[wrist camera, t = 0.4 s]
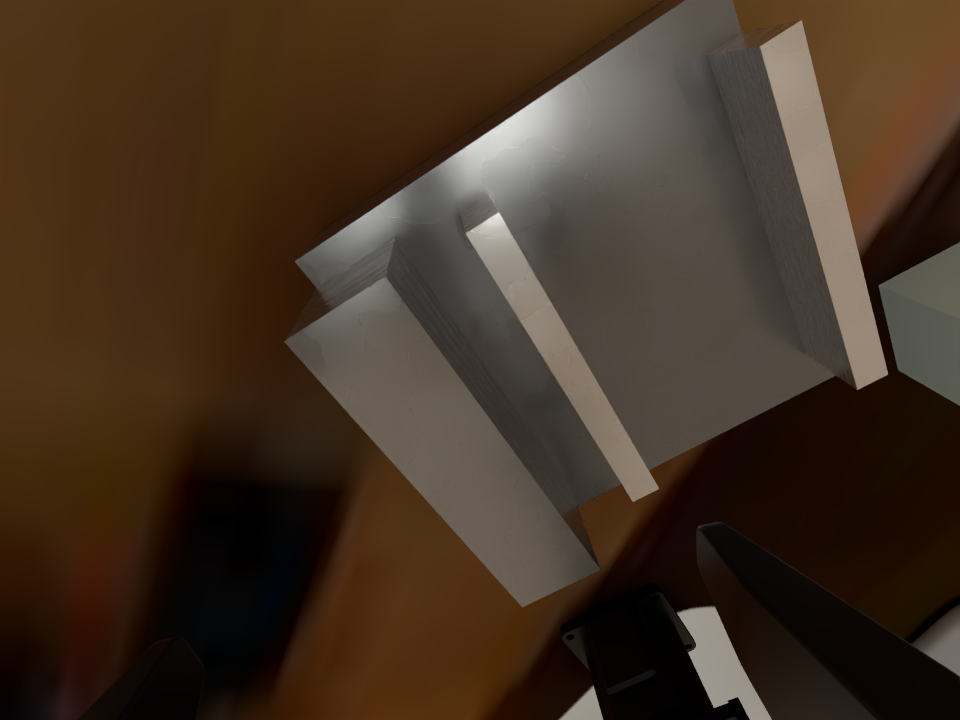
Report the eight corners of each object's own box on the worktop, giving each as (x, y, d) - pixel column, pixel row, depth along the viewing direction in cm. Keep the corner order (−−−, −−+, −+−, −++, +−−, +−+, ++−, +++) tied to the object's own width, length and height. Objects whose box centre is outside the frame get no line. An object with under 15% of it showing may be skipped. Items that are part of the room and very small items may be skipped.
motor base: (777, 329, 23) (936, 433, 16) (505, 474, 25) (535, 622, 18) (661, 0, 17) (832, -73, 10) (320, 231, 19) (255, 309, 12)
